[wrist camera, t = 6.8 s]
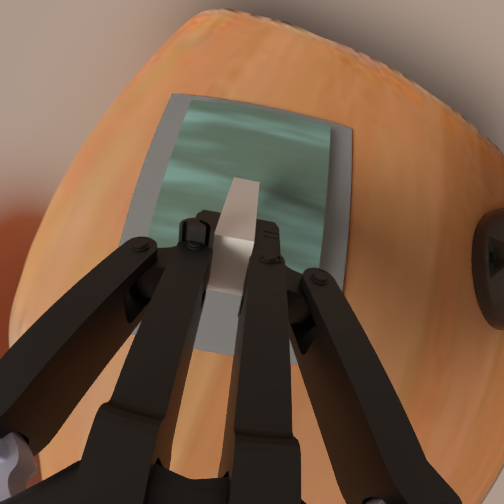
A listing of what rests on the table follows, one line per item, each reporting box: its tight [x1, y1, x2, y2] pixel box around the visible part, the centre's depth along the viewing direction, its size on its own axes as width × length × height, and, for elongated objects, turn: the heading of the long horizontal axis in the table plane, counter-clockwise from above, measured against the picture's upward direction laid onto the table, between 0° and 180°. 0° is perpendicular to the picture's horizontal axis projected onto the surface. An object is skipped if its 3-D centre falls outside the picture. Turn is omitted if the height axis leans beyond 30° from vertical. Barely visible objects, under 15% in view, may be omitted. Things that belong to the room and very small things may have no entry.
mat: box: [119, 94, 352, 364], centre depth 22 cm, size 22×18×1 cm
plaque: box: [148, 100, 331, 274], centre depth 21 cm, size 2×12×14 cm
